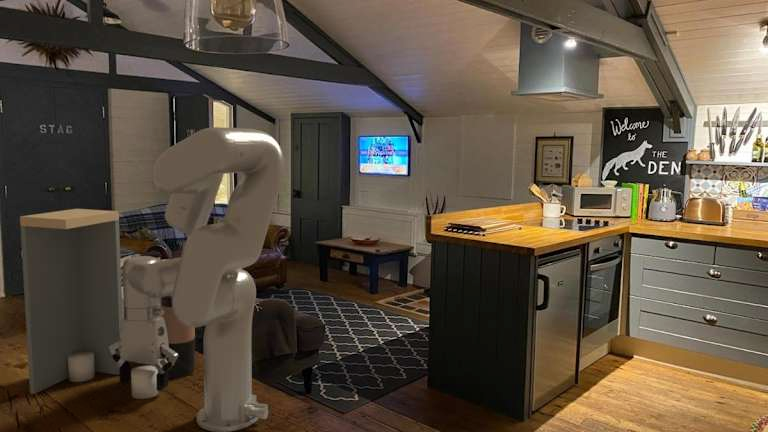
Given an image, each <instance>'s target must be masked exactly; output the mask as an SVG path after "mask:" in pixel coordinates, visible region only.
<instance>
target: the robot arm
mask: <svg viewBox="0 0 768 432" xmlns="http://www.w3.org/2000/svg"><path fill="white" fill-rule="evenodd" d="M284 156H285V155H284V154H283V150H282V148H281V146H280V145H279V143H278V142H277V140H276V139H275V137H273V136H271V135H270V134H269V133H267V132H265V131H263V130H259V129H255V128H249V127H248V128H247V127H246V128H245V127H219V126H217V127H207V128H203V129H200V130H198V131H196V132H194V133H193V134H191V135H189V136H188V137H186V138H184V139H182V140H180V141H179V142H177V143H175V144H174V145H172V146H170V147H168V148H167V149H165V150H164V151H163V152H162V153H161V154H160V155H159V156H158V158H157V159H156V161H155V163H154V166H153V171H152V177H153V182H154V184H155V186H156V187H157V189H158V190H159V191H160V192H162V193H164V194H169V195H170V197H169V201H168V203H167V207H166V210H165V213H164V219H165V221H166V222H167V224H168V225H169V226H170V227H171V228H173V229H174V230H176V231H179V232H182V233H184V234H187V237H186V241H185V243H184V244H183V245H184V246H183V248H182V251H181V256H180V257H174V258H169V259H166V260H162V261H161V260H160V262H159V261H158V260H157V259H156V258H155V257H151V256H140V255H137V256H131V257H128V258H126V259H125V260H124V261H123V264H122V282H123V283H122V286H123V287H122V289H123V290H122V293H123V295H122V296H123V316H122V322H121V328H120V338H119V342H117V343H115V344H113V345H111V346H109V349H110V351H111V354H112V357H113V359H114V360H115V361H116V363H117V364H116V365H117V367H119V374H120V375H119V384H120V385H125V384H127V383H129V382H131V371H132V363H133V362H134V363H138V364H146V365H150V366H155V367H156V369H157V370H158V374H157V375H156V378H157V390H158V392H161V391H162V390H164V389H165V388H167V387H168V385H169V377H168V370H170V369H171V367H172V366H173V365H174V364H175V362H176V360H177V358H178V354H177V353H176V352H175V351H173V350H172V349H170V348H169V345H168V335H167V329H166V324H165V320H164V317H160V316H161V315H163V314H164V310H163V309H160V298H162V297H166V296H169V295H172V309H173V312H174V315H175V317H176V319H177V320H178V321H179V322H180V323H181V324H183V325H184V326H187V327H195V328H200V327H203V326H205V328H204V333H203V341H202V342H203V347H202V348H203V389H204V390H203V391H204V392H203V394H204V396H203V399H204V406H203V408H201V409H200V410H199V411H198V412H197V414H196V423H197V425H198V426H199V427H200V428H202V429H203V430H207V431H210V432H236V431H240V430H242V429H246V428H248V427H250V426H252V425H253V424H255V423H256V422H257V421H258V420H259V419H262V420H263V419H264V420H266V419H267V418H268V416H269V406H268V404H265V403H259V402H258V401H257V395H256V394H253V393H252V391H253V388H252V387H253V384H252V383H253V381H252V379H253V378H252V374H253V372H252V369H253V368H252V342H253V341H252V337H253V336H252V330H253V329H252V328H253V326H252V325H253V316H254V315H253V314H254V310H255V305H256V297H257V288H256V284H255V281H254V278H253V277H252V275H251V274H250V273H249V272H248V271H246V270H244V268H247V267H250V266H252V265H253V264H255V263H256V262H257V261H258V259H259V258H260V256H261V254H262V251H263V246H264V243H265V239H266V236H267V233H268V229H269V225H270V222H271V218H272V214H273V211H274V207H275V204H276V202H277V199H278V196H279V193H280V191H281V188H282V184H283V182H284V178H285V173H286V163H285V162H286V161H285V157H284ZM239 173H243V174H242V175H243V176H242V178H241V179H240V181H239V182H238V183H237V184H236V186H235V187H234V189H233V191H231V194H230V197H229V200H228V202H227V203H228V204H227V209H226V211H225V214H224V217H223V219H222V220H221V221H219V222H216V223H212V224H211V223H210V224H208V221H209V218H210V216H211V212H212V210H213V207H214V205H215V201H216V198H217V196H218V192H219V190H220V186H221V183H222V181H223V178H224V175H225V174H239ZM167 357H168V358H169V360H168V362H167V360H166V359H165V358H167ZM158 358H159V359H158ZM130 362H131V363H130Z"/></svg>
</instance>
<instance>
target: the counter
mask: <svg viewBox="0 0 768 432" xmlns="http://www.w3.org/2000/svg"><path fill="white" fill-rule="evenodd" d="M119 213H120V212H119V211H117V210H102V209H90V208H89V209H87V208H71V209H65V210H58V211H51V212H43V213H37V214H36V213H35V214H29V215H21V216H19V222H20V238H21V239H20V242H21V254H22V255H21V257H22V259H21V260H22V273H23V275H22V276H23V291H24V292H23V293H24V295H23V296H24V311H25V329H26V344H27V345H26V346H27V360H28V361H27V362H28V363H27V366H28V377H29V378H28V379H29V381H28V382H29V394H30V395H31V394H32V395H36V394H37V393H40V392H42V391H44V390H45V389H47V388H49V387H52V386H54V385H56V384H58V383H60V382H62V381H64V380H66V379H69V374H68V356H69V355H70V354H73V353H76V352H81V351H90V352H93V353H94V367H95V373H103V374H110V375H116V376H120V374H119V367H117V365H116V364H117V363H116V361H115V360H114V359H113V357H112V354H111V351H110V349H109V346H111V345H113V344H115V343H117V342H119V338H120V328H121V322H122V318H123V301H122V300H123V298H122V296H123V295H122V293H123V290H122V272H121V271H122V268H121V265H122V263H121V247H120V246H121V242H120V240H121V238H120V235H121V234H120V215H119Z"/></svg>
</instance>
